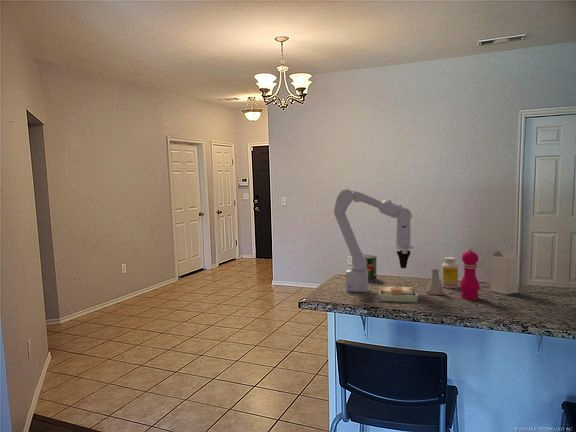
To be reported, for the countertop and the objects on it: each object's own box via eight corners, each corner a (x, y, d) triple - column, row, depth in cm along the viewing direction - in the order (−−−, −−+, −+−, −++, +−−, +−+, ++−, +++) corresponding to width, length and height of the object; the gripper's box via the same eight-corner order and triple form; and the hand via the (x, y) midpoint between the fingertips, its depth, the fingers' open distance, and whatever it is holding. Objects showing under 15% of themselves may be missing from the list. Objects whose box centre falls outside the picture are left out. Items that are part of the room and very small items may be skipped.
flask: (447, 295, 167) (447, 271, 167) (429, 295, 168) (429, 271, 167) (440, 291, 175) (441, 267, 174) (423, 291, 175) (423, 267, 174)
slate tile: (402, 299, 161) (402, 293, 161) (402, 296, 165) (402, 290, 164) (413, 300, 160) (413, 293, 159) (412, 297, 163) (413, 291, 163)
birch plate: (379, 297, 166) (379, 290, 166) (378, 292, 174) (378, 286, 174) (415, 298, 164) (415, 291, 164) (412, 293, 172) (412, 287, 172)
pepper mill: (481, 300, 159) (482, 249, 157) (461, 299, 160) (462, 248, 159) (477, 295, 166) (477, 246, 164) (457, 295, 167) (458, 246, 166)
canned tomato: (361, 280, 196) (361, 257, 195) (358, 277, 204) (358, 255, 203) (378, 280, 195) (377, 257, 195) (375, 277, 203) (375, 255, 203)
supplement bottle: (460, 288, 178) (460, 259, 177) (444, 288, 178) (444, 259, 177) (454, 284, 185) (454, 256, 184) (439, 285, 185) (439, 256, 184)
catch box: (379, 301, 160) (379, 294, 160) (378, 297, 166) (378, 291, 166) (418, 302, 158) (418, 296, 158) (416, 298, 164) (416, 292, 163)
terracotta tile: (390, 298, 163) (391, 300, 160) (390, 288, 163) (391, 289, 160) (400, 298, 162) (401, 300, 160) (400, 288, 162) (401, 290, 160)
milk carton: (517, 293, 169) (518, 247, 168) (504, 295, 166) (505, 248, 165) (502, 289, 176) (503, 245, 174) (490, 291, 173) (491, 246, 172)
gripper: (415, 238, 167) (414, 271, 167) (411, 234, 181) (411, 264, 182) (397, 238, 168) (396, 271, 169) (395, 234, 182) (394, 264, 183)
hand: (403, 267), depth 175 cm, fingers closed
